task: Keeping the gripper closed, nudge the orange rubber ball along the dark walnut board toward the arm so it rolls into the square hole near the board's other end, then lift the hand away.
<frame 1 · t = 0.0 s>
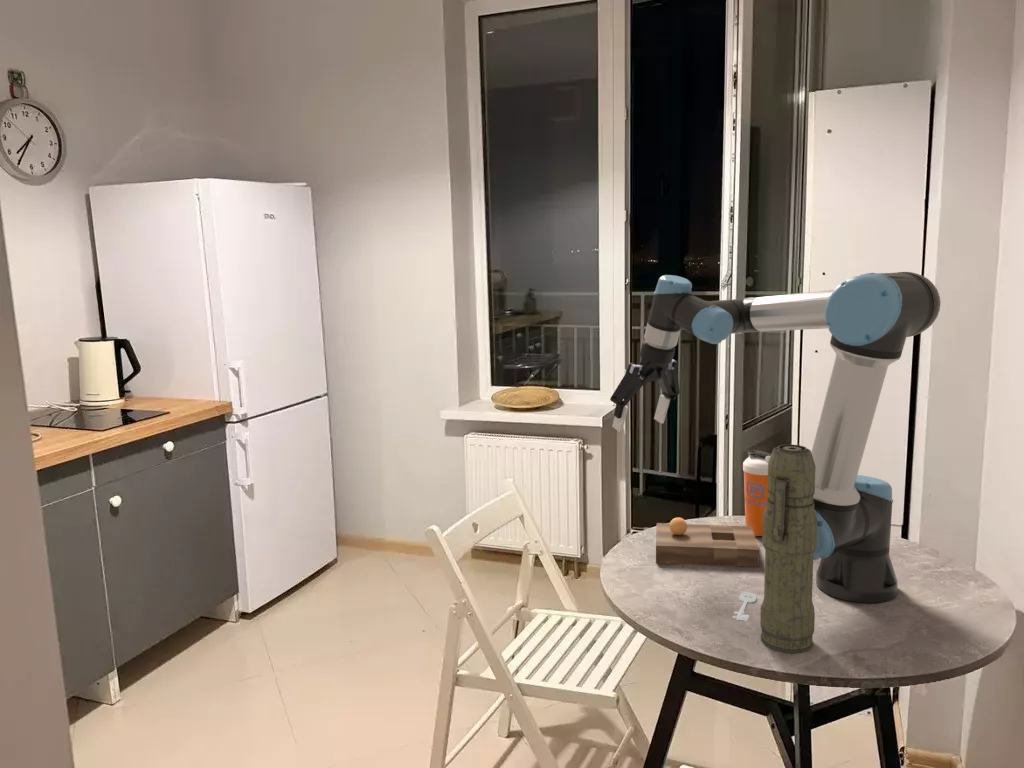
hand: (638, 425, 187), 28 cm above the table, tool tilted 20°, fingers open, 13 cm apart
ball: (678, 526, 180), point 6 cm above the table, touching board
shaker bottle: (760, 533, 192), on the table
thermos: (786, 642, 138), on the table
key: (743, 609, 152), on the table
board: (704, 552, 180), on the table
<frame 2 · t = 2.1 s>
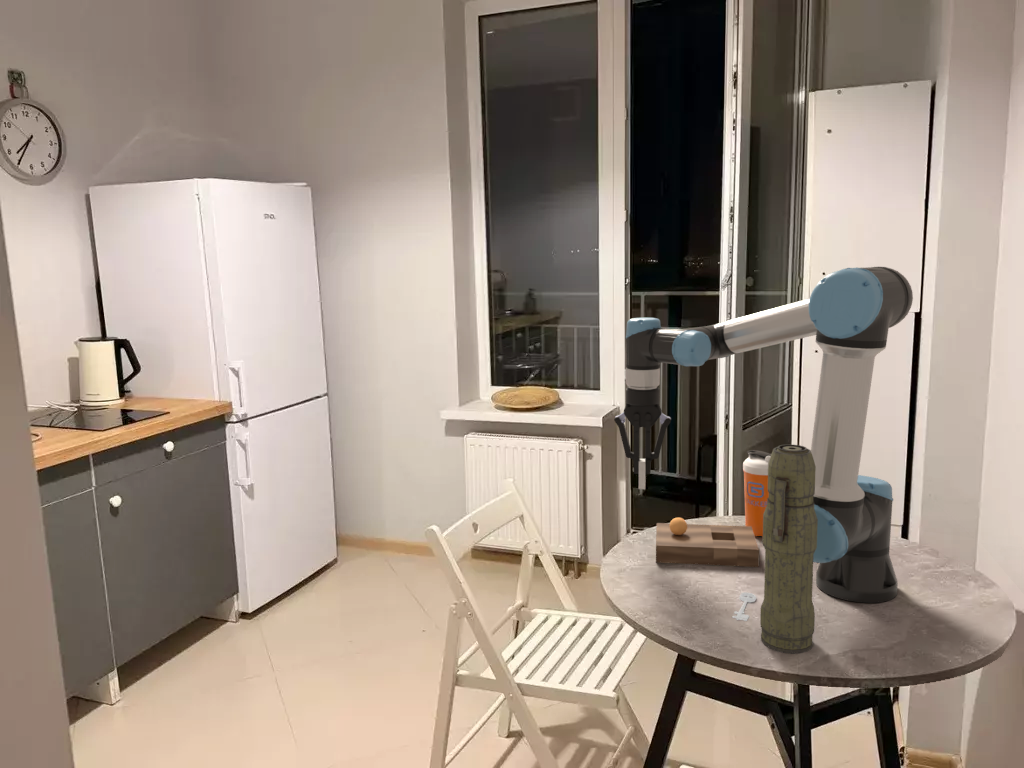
hand: (642, 487, 181), 15 cm above the table, tool pointing down, fingers closed
nothing on the table moved.
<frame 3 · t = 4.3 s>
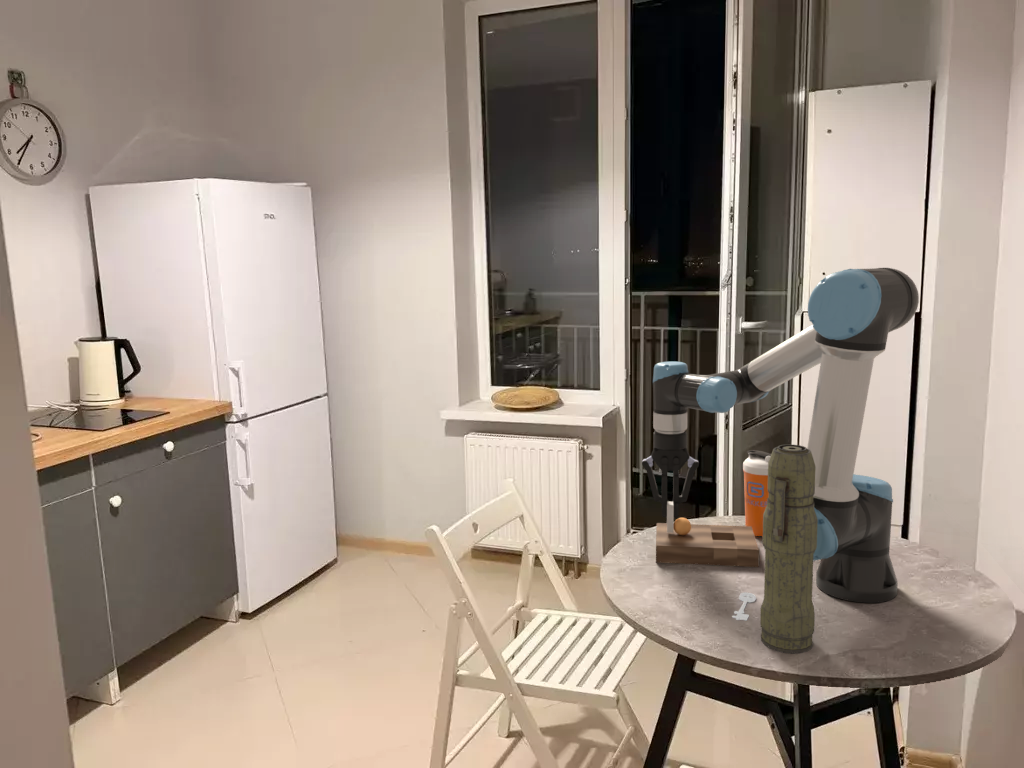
hand: (670, 530, 181), 5 cm above the table, tool pointing down, fingers closed
ball: (682, 526, 180), point 6 cm above the table, tilted 23°, touching board
everything else where it was.
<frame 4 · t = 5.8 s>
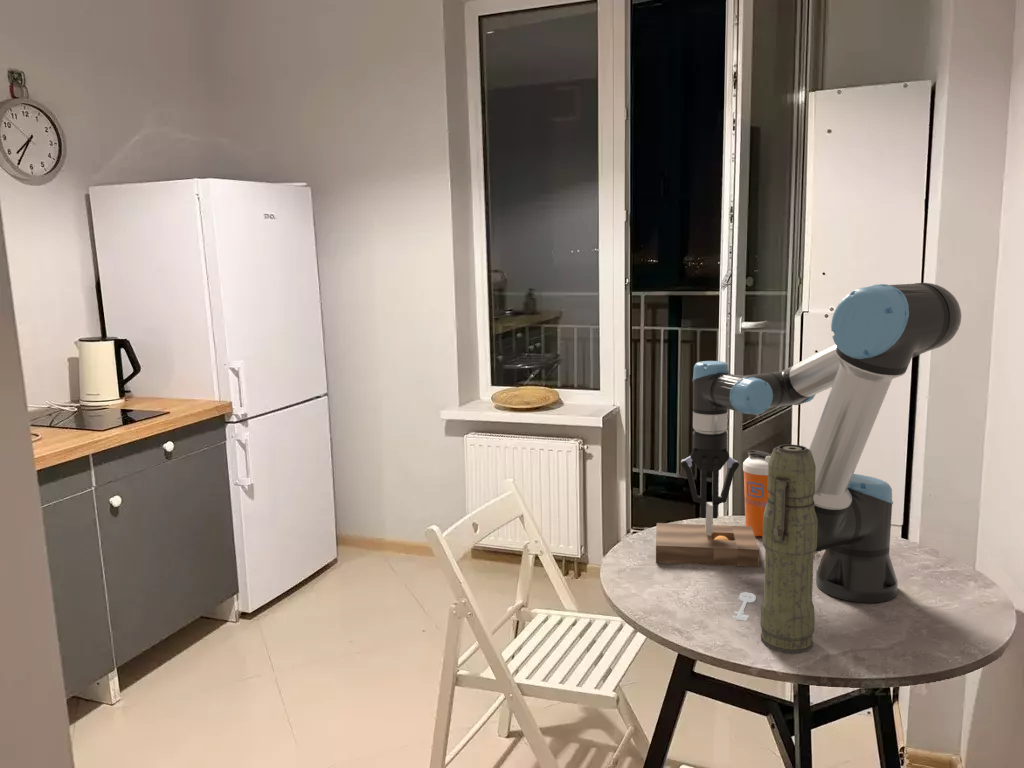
hand: (708, 531, 179), 5 cm above the table, tool pointing down, fingers closed
ball: (721, 544, 179), point 2 cm above the table, tilted 49°
everything else where it was.
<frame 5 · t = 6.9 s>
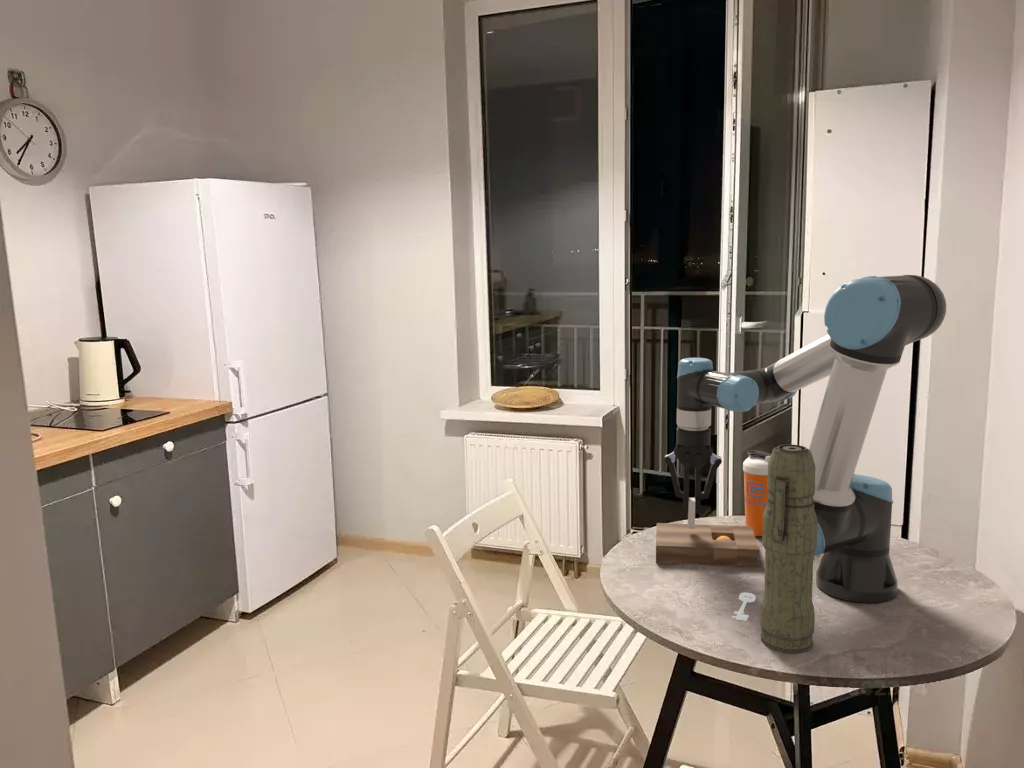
hand: (691, 526, 181), 6 cm above the table, tool pointing down, fingers closed
ball: (723, 544, 179), point 2 cm above the table, tilted 33°
everything else where it was.
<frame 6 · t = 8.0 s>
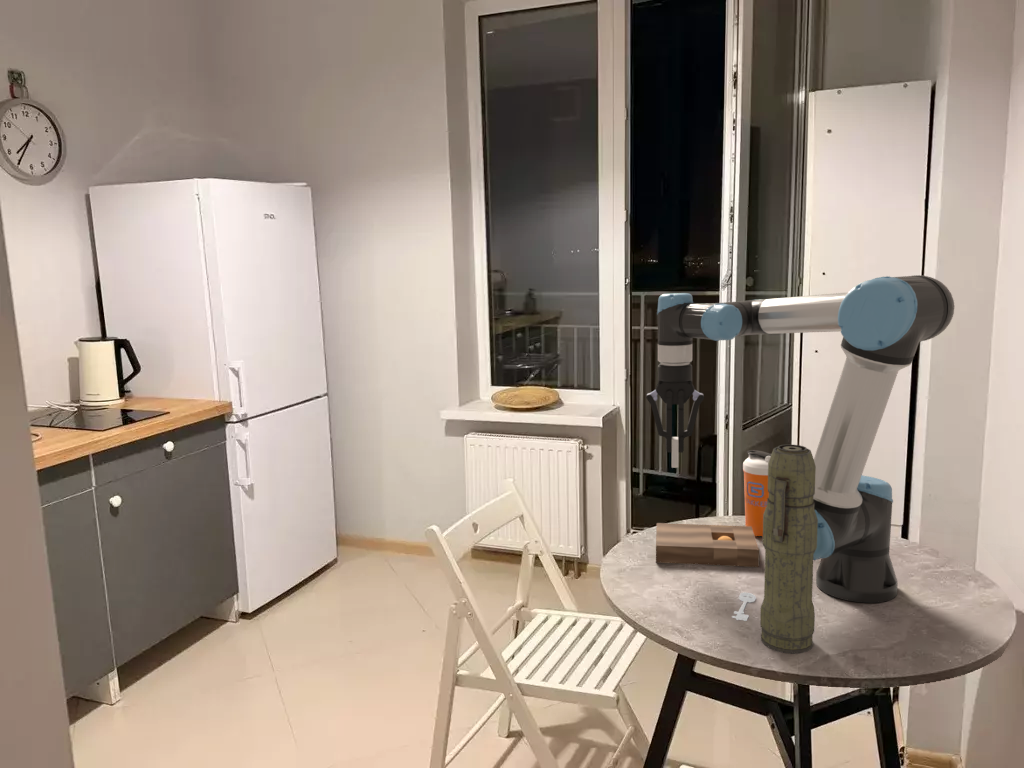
hand: (674, 466, 178), 20 cm above the table, tool pointing down, fingers closed
ball: (725, 544, 179), point 2 cm above the table, tilted 25°
everything else where it was.
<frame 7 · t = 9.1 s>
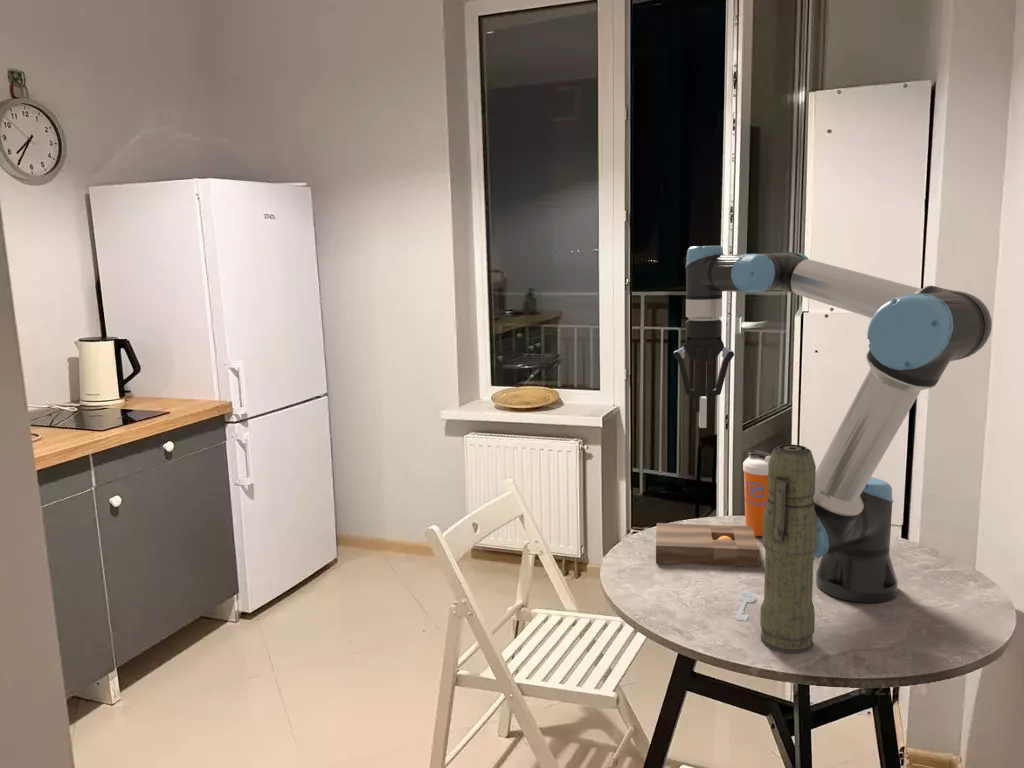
hand: (702, 426, 172), 30 cm above the table, tool pointing down, fingers closed
nothing on the table moved.
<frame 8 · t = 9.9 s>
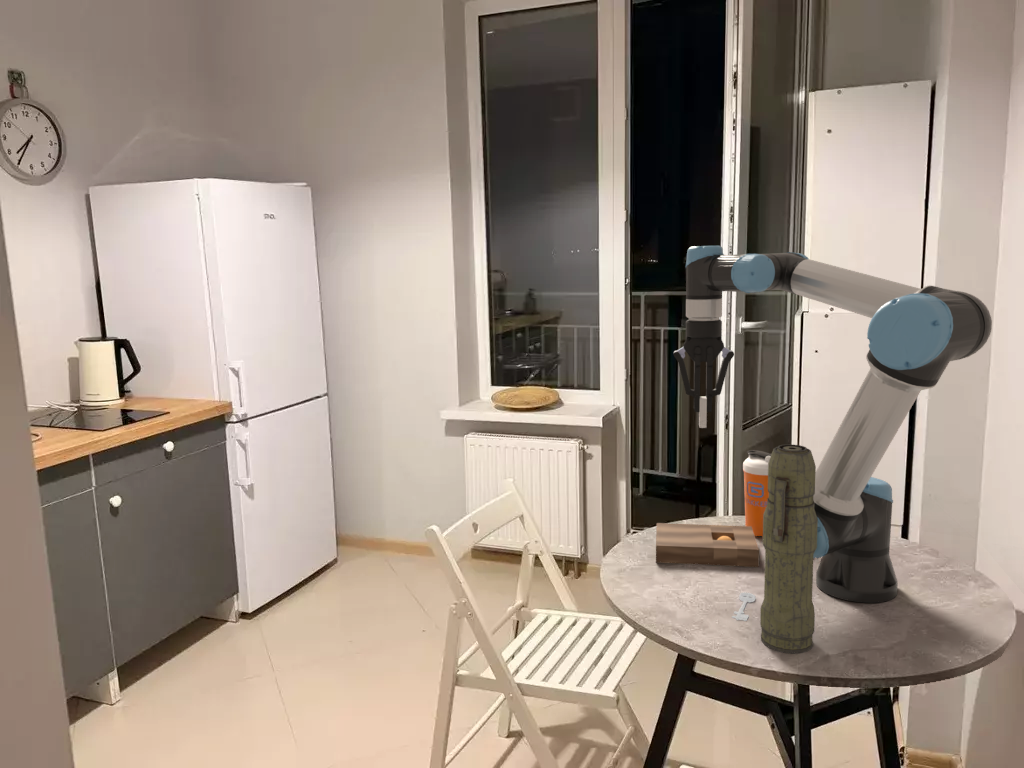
hand: (702, 426, 172), 30 cm above the table, tool pointing down, fingers closed
nothing on the table moved.
at the end: ball 0.4 cm from the target spot on the board, point 2.0 cm above the board's base; ball moved 11.1 cm from its start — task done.
